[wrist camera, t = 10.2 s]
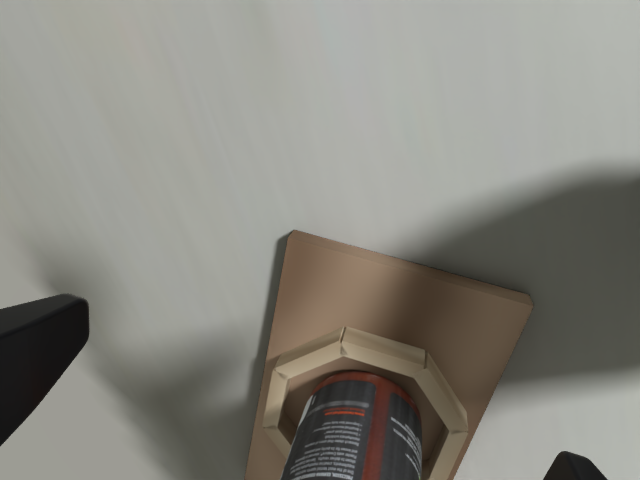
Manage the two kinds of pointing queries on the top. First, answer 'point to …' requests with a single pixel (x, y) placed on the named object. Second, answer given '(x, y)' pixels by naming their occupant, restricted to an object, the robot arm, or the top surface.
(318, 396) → the supplement bottle
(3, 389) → the robot arm
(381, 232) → the top surface
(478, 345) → the wooden board with rim
